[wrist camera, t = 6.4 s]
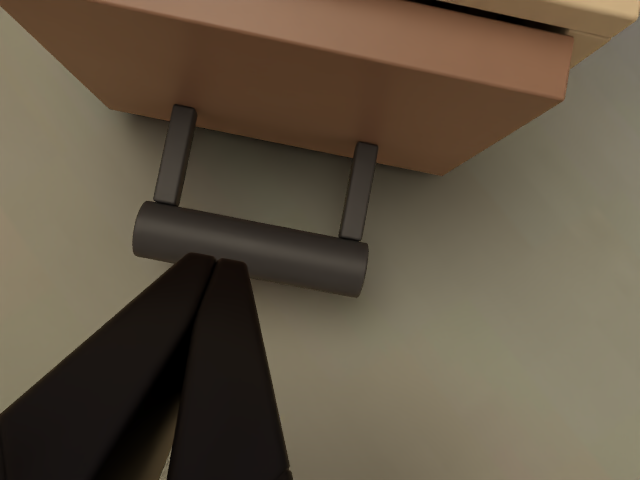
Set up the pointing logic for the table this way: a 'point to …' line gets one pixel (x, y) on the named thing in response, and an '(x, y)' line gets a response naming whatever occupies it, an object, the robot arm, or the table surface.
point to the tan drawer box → (566, 18)
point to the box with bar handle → (302, 101)
